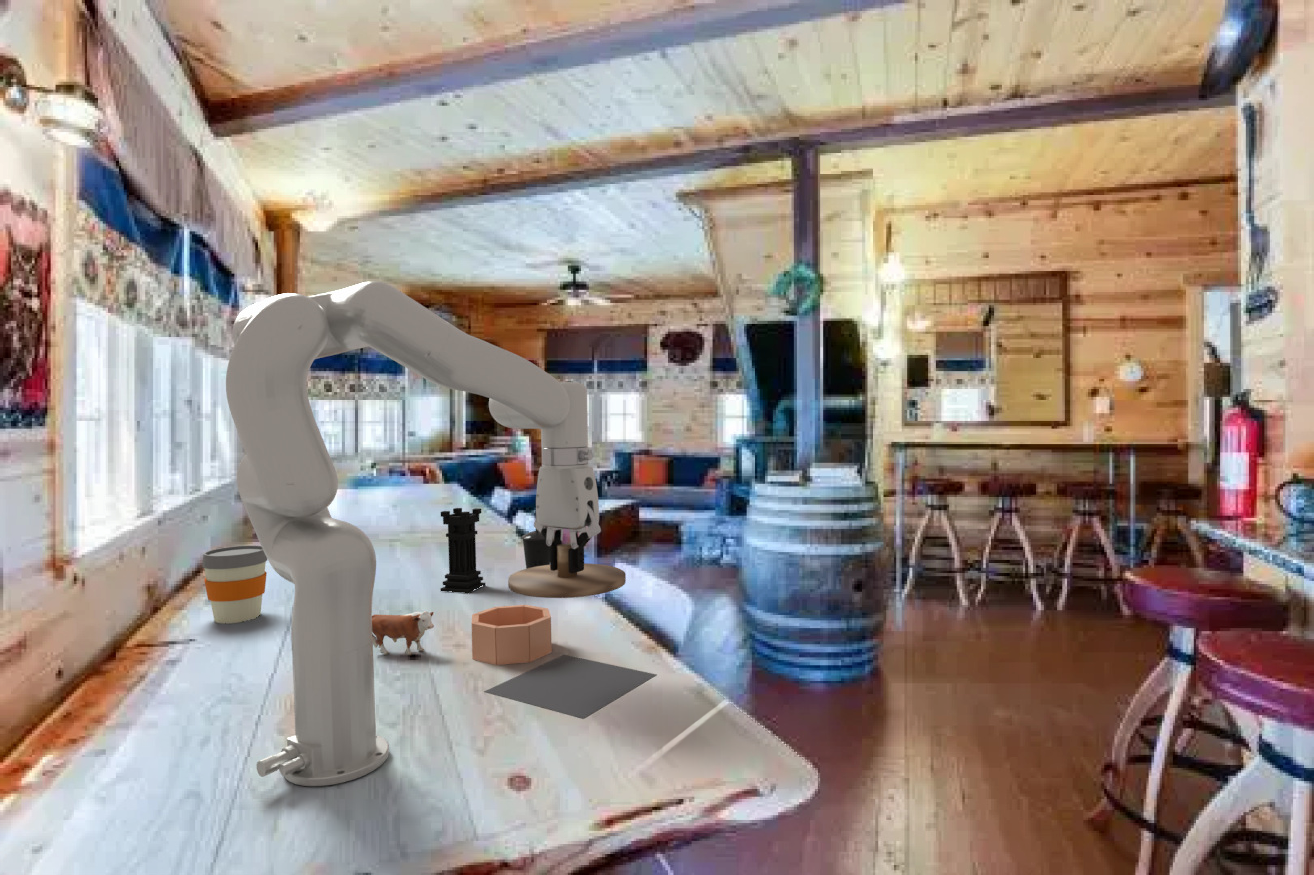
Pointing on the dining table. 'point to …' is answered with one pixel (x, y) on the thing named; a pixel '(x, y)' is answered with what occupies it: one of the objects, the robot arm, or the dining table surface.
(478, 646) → the bowl
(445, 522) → the chess piece
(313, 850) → the dining table surface
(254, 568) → the reusable coffee cup
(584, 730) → the dining table surface
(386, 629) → the bull figurine
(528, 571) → the lid
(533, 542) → the drinking cup
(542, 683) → the mat
